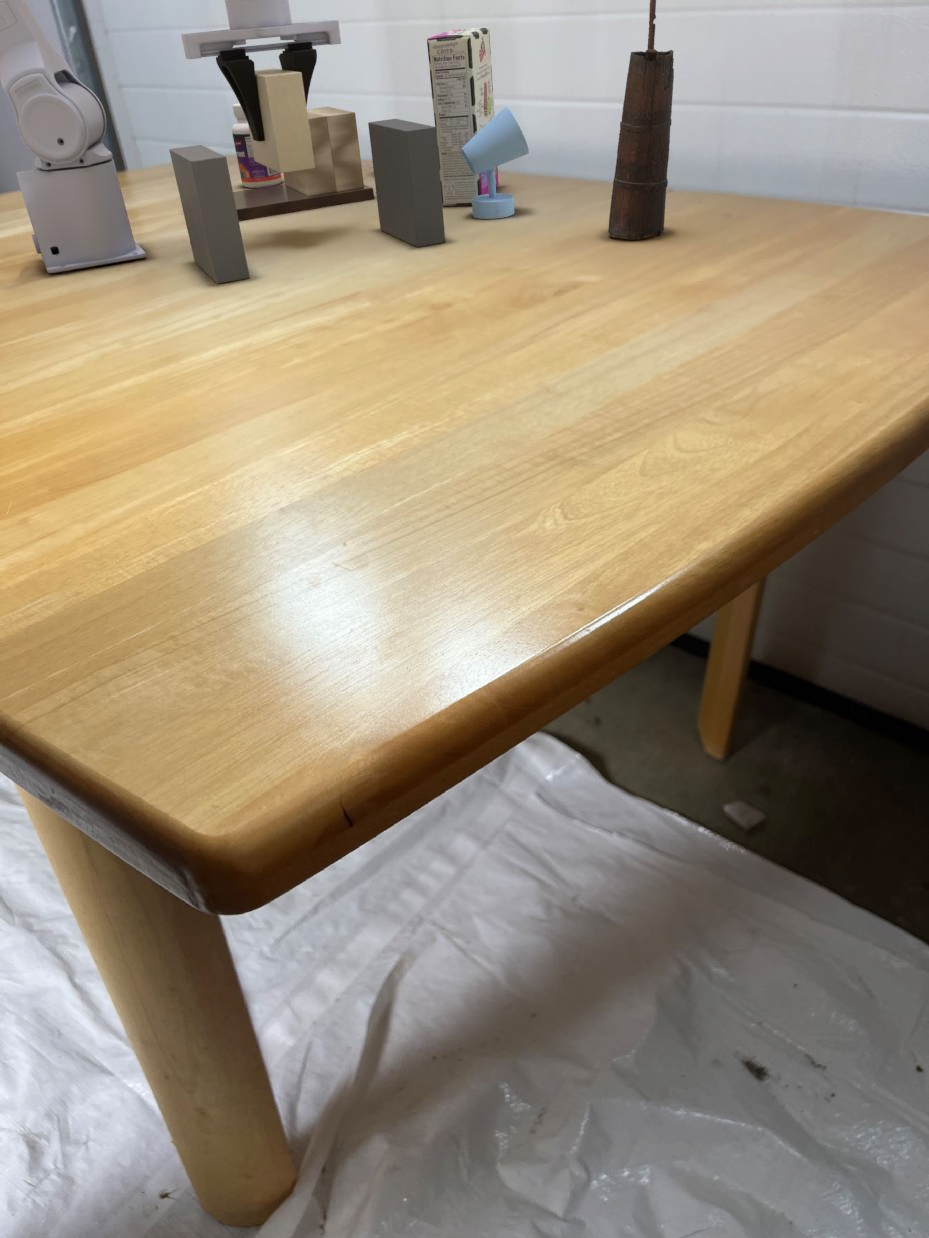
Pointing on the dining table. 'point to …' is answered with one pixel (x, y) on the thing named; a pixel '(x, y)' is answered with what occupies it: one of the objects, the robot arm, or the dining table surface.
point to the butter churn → (643, 144)
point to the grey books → (399, 179)
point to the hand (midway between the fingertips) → (279, 138)
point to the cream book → (283, 122)
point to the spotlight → (494, 161)
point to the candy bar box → (460, 107)
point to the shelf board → (290, 200)
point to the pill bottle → (250, 156)
